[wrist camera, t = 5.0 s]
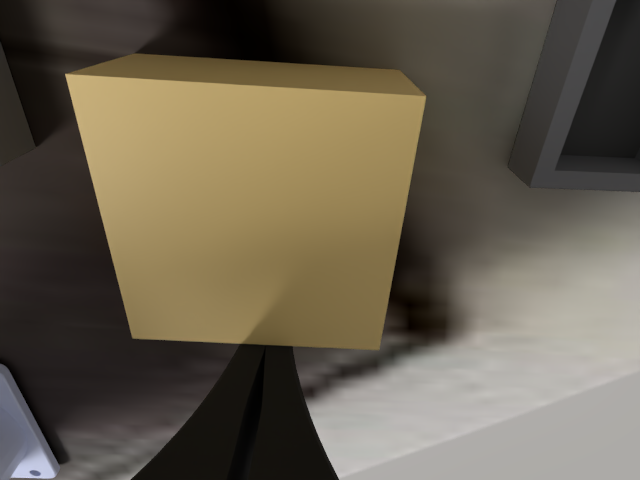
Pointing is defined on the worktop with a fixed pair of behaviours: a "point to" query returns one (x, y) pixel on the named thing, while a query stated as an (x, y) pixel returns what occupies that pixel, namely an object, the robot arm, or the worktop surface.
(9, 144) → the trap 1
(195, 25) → the worktop surface
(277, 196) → the block
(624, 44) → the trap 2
